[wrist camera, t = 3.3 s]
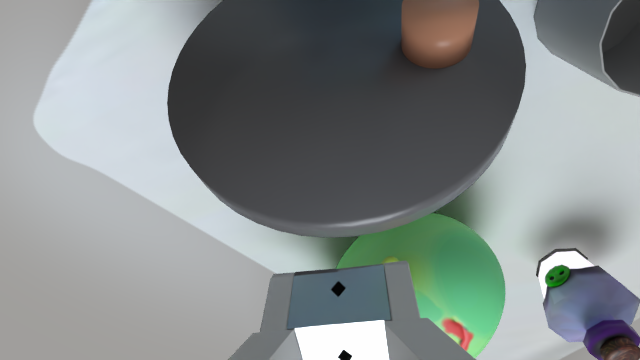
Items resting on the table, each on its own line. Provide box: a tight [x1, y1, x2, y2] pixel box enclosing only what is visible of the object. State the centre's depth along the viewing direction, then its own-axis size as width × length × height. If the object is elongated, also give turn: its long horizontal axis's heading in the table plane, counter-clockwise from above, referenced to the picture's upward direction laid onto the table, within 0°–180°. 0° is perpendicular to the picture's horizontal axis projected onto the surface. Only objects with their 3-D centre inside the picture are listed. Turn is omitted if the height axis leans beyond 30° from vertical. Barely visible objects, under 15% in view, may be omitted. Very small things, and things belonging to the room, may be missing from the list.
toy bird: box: [336, 213, 505, 358], centre depth 41 cm, size 18×17×15 cm
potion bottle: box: [536, 248, 640, 360], centre depth 42 cm, size 9×9×12 cm
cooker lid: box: [167, 0, 526, 238], centre depth 20 cm, size 18×16×4 cm
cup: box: [534, 0, 640, 97], centre depth 30 cm, size 8×8×10 cm
